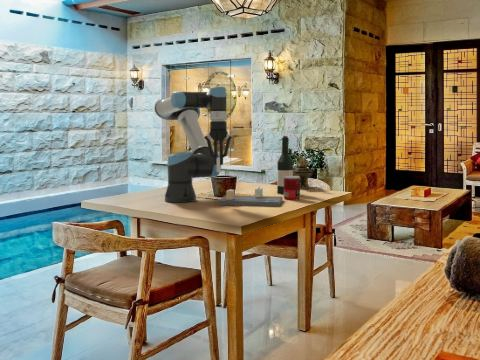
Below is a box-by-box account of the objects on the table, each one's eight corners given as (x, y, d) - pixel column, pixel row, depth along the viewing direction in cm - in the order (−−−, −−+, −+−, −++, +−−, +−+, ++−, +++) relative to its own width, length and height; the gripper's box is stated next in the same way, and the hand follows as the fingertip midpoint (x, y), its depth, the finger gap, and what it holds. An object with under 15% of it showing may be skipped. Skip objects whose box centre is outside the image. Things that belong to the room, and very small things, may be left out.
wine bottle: (274, 192, 275) (274, 136, 272) (288, 191, 279) (288, 135, 275) (281, 194, 268) (281, 136, 264) (295, 193, 271) (296, 136, 267)
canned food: (299, 200, 251) (299, 177, 250) (282, 199, 253) (282, 177, 251) (300, 197, 259) (300, 175, 257) (284, 197, 260) (284, 175, 259)
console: (218, 204, 239) (218, 200, 239) (225, 199, 255) (225, 195, 255) (278, 206, 234) (278, 202, 234) (282, 200, 250) (282, 196, 250)
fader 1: (226, 199, 239) (226, 190, 239) (228, 197, 244) (228, 188, 244) (232, 199, 239) (232, 190, 238) (234, 198, 244) (234, 189, 243)
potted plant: (288, 185, 302) (288, 151, 299) (304, 185, 303) (305, 151, 300) (296, 190, 282) (296, 154, 280) (313, 190, 283) (314, 154, 281)
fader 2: (254, 197, 246) (254, 188, 246) (256, 195, 251) (256, 186, 250) (261, 197, 246) (261, 188, 245) (262, 195, 250) (262, 186, 250)
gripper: (202, 120, 235) (203, 172, 238) (230, 120, 233) (231, 173, 236) (206, 120, 243) (207, 170, 246) (233, 120, 240) (234, 171, 243)
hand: (218, 171), depth 241 cm, fingers closed
